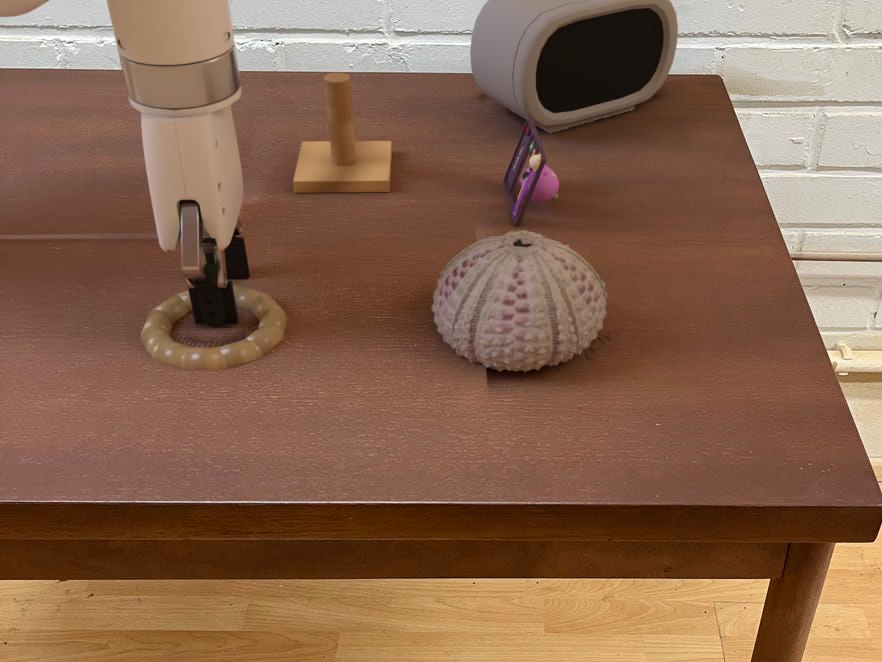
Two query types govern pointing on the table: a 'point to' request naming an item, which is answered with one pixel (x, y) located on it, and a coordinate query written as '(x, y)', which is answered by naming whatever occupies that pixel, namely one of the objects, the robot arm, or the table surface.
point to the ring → (213, 357)
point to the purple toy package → (529, 173)
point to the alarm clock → (572, 56)
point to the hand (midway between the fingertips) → (224, 302)
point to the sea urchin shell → (519, 302)
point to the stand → (342, 151)
